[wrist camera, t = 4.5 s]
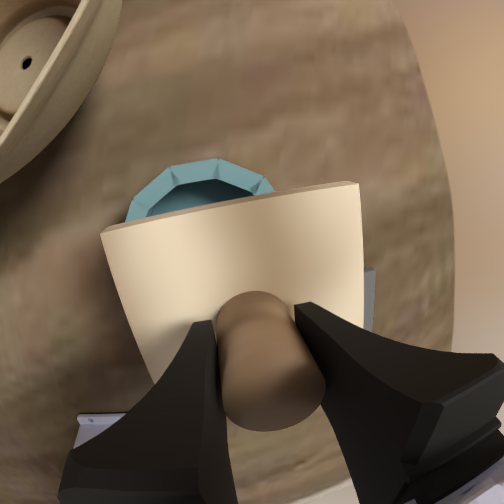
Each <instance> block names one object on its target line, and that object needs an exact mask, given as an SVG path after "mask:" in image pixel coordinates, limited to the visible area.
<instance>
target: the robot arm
mask: <svg viewBox="0 0 504 504" xmlns="http://www.w3.org/2000/svg"><path fill="white" fill-rule="evenodd" d="M294 316H295V324H296V326H297V328H298V329H299V331H300V333H301V335H302V337H303V339H304V341H305V343H306V345H307V346H308V348H309V350H310V352H311V354H312V356H313V358H314V360H315V362H316V363H317V365H318V367H319V369H320V371H321V373H322V375H323V377H324V379H325V384H326V391H325V395H324V398H323V400H322V402H321V403H320V404H321V406H322V408H323V410H324V412H325V413H326V415H327V417H328V419H329V421H330V423H331V425H332V427H333V430H334V432H335V435H336V437H337V440H338V442H339V445H340V448H341V450H342V453H343V456H344V458H345V461H346V464H347V467H348V469H349V472H350V475H351V478H352V481H353V484H354V487H355V490H356V493H357V496H358V500H359V503H360V504H504V436H503V434H502V433H501V432H500V431H499V430H498V429H499V428H500V427H501V422H500V420H498V418H497V417H496V415H497V413H498V411H499V409H500V407H501V406H502V404H503V402H504V363H503V362H502V361H501V360H500V359H499V358H497V357H496V356H495V355H494V354H492V353H489V354H486V353H485V354H482V353H481V354H480V353H478V354H477V353H476V354H475V353H474V354H473V353H453V352H444V351H437V350H430V349H425V348H421V347H416V346H411V345H408V344H404V343H400V342H397V341H394V340H391V339H388V338H385V337H382V336H380V335H377V334H374V333H372V332H370V331H367V330H365V329H363V328H361V327H359V326H356V325H354V324H352V323H350V322H348V321H346V320H344V319H343V318H341V317H339V316H337V315H335V314H333V313H331V312H330V311H328V310H326V309H324V308H322V307H321V306H319V305H317V304H315V303H313V302H311V301H310V302H305V303H300V304H295V305H294ZM77 420H78V422H79V423H80V427H79V430H78V434H77V437H76V440H75V444H74V447H73V449H72V450H70V452H69V455H68V457H67V460H66V463H65V467H64V471H63V475H62V479H61V483H60V488H59V492H58V497H57V498H58V500H59V501H60V503H61V504H238V501H237V496H236V491H235V486H234V481H233V475H232V470H231V464H230V458H229V452H228V443H227V423H226V413H225V411H224V407H223V400H222V391H221V382H220V372H219V362H218V352H217V343H216V339H215V334H214V329H213V324H212V320H204V321H198V322H193V324H192V325H191V327H190V329H189V331H188V333H187V335H186V337H185V339H184V341H183V343H182V345H181V347H180V348H179V350H178V352H177V353H176V355H175V357H174V358H173V360H172V362H171V363H170V365H169V366H168V367H167V369H166V370H165V372H164V373H163V375H162V376H161V377H160V379H159V380H158V381H157V383H156V384H155V385H154V386H153V387H152V389H151V390H150V391H149V392H148V393H147V394H146V395H145V396H144V397H143V398H142V399H141V400H140V401H139V402H138V403H137V404H136V405H135V406H134V407H133V408H132V409H131V410H130V411H129V412H127V413H121V414H79V415H78V416H77Z"/></svg>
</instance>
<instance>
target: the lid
mask: <svg viewBox="0 0 504 504" xmlns="http://www.w3.org/2000/svg"><path fill="white" fill-rule="evenodd" d="M100 236H101V239H102V243H103V246H104V250H105V253H106V257H107V260H108V263H109V267H110V270H111V273H112V276H113V279H114V282H115V285H116V288H117V291H118V294H119V297H120V300H121V303H122V306H123V308H124V311H125V314H126V317H127V319H128V322H129V325H130V327H131V330H132V332H133V335H134V337H135V340H136V342H137V345H138V347H139V350H140V352H141V355H142V357H143V359H144V362H145V364H146V366H147V369H148V371H149V373H150V375H151V378H152V380H153V382H154V384H156V383H157V381H158V380H159V379H160V377H161V376H162V375H163V373H164V372H165V370H166V369H167V367H168V366H169V365H170V363H171V362H172V360H173V358H174V357H175V355H176V353H177V352H178V350H179V348H180V347H181V345H182V343H183V341H184V339H185V337H186V335H187V333H188V331H189V329H190V327H191V325H192V324H193V322H198V321H204V320H212V324H213V329H214V334H215V339H216V343H217V352H218V362H219V372H220V382H221V391H222V400H223V407H224V411H225V413H226V415H227V416H228V418H229V419H230V420H231V421H232V422H234V423H235V424H236V425H238V426H240V427H242V428H245V429H248V430H253V431H262V432H264V431H276V430H281V429H284V428H288V427H290V426H293V425H295V424H297V423H299V422H301V421H303V420H304V419H306V418H307V417H308V416H310V415H311V414H312V413H313V412H314V411H315V410H316V409H317V408H318V406H319V405H320V403H321V402H322V400H323V398H324V395H325V391H326V384H325V379H324V377H323V375H322V373H321V371H320V369H319V367H318V365H317V363H316V362H315V360H314V358H313V356H312V354H311V352H310V350H309V348H308V346H307V345H306V343H305V341H304V339H303V337H302V335H301V333H300V331H299V329H298V328H297V326H296V324H295V316H294V305H295V304H300V303H305V302H310V301H311V302H313V303H315V304H317V305H319V306H321V307H322V308H324V309H326V310H328V311H330V312H331V313H333V314H335V315H337V316H339V317H341V318H343V319H344V320H346V321H348V322H350V323H352V324H354V325H356V326H359V327H361V328H363V324H364V266H363V238H362V220H361V205H360V193H359V184H358V183H354V182H349V181H342V182H335V183H328V184H321V185H315V186H308V187H302V188H296V189H290V190H283V191H278V192H272V193H266V194H260V195H255V196H249V197H243V198H238V199H233V200H227V201H222V202H217V203H212V204H207V205H202V206H197V207H192V208H187V209H183V210H178V211H173V212H169V213H164V214H160V215H155V216H151V217H146V218H142V219H137V220H133V221H129V222H125V223H121V224H116V225H112V226H108V227H107V228H106V229H105V230H103V231H102V232H101V233H100Z"/></svg>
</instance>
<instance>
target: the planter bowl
mask: <svg viewBox="0 0 504 504" xmlns="http://www.w3.org/2000/svg"><path fill="white" fill-rule="evenodd" d="M122 1H123V0H0V183H2V182H3V181H5V180H6V179H8V178H9V177H10V176H12V175H13V174H15V173H16V172H17V171H19V170H20V169H21V168H22V167H24V166H25V165H26V164H27V163H29V162H30V161H31V160H32V159H33V158H34V157H35V156H37V155H38V154H39V153H40V152H41V151H42V150H43V149H44V148H45V147H46V146H47V145H48V144H49V143H50V142H51V141H52V140H53V139H54V138H55V137H56V136H57V135H58V134H59V133H60V131H61V130H62V129H63V128H64V127H65V126H66V124H67V123H68V122H69V121H70V119H71V118H72V117H73V116H74V114H75V113H76V112H77V110H78V109H79V107H80V106H81V105H82V103H83V102H84V100H85V99H86V97H87V95H88V94H89V92H90V90H91V89H92V87H93V85H94V83H95V82H96V80H97V78H98V76H99V74H100V72H101V70H102V68H103V66H104V64H105V61H106V59H107V56H108V54H109V51H110V49H111V46H112V43H113V40H114V37H115V34H116V30H117V27H118V23H119V18H120V14H121V8H122ZM28 58H31V59H32V61H31V64H30V66H29V67H28V68H27V69H23V67H22V64H23V62H24V61H25V60H26V59H28Z"/></svg>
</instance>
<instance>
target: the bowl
mask: <svg viewBox="0 0 504 504" xmlns="http://www.w3.org/2000/svg"><path fill="white" fill-rule="evenodd" d="M272 192H275V190H274V189H273V188H272V186H271V185H270V184H269V182H268V181H267V180H266V178H265V177H263V176H262V175H259V174H257V173H254V172H252V171H249V170H247V169H245V168H242V167H240V166H237V165H235V164H232V163H229V162H227V161H224V160H222V159H219V158H215V157H214V158H208V159H202V160H196V161H190V162H184V163H178V164H175V165H172V166H170V167H168V168H167V169H166V170H165V171H163V172H162V173H161V174H160V175H159V176H158V177H156V178H155V179H154V180H153V181H152V182H151V183H150V184H148V185H147V186H146V187H145V188H144V189H143V190H142V191H141V192H139V193H138V194H137V195H136V196H135V197H134V198H133V199H132V201H131V204H130V208H129V211H128V214H127V217H126V221H125V222H129V221H133V220H137V219H142V218H146V217H151V216H155V215H160V214H164V213H169V212H173V211H178V210H183V209H187V208H192V207H197V206H202V205H207V204H212V203H217V202H222V201H227V200H233V199H238V198H243V197H249V196H255V195H260V194H266V193H272Z"/></svg>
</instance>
